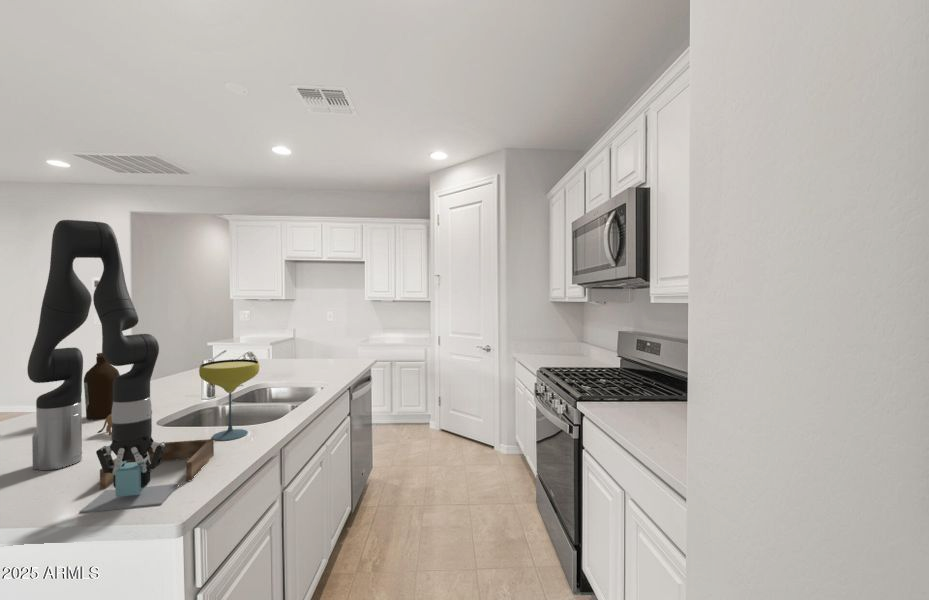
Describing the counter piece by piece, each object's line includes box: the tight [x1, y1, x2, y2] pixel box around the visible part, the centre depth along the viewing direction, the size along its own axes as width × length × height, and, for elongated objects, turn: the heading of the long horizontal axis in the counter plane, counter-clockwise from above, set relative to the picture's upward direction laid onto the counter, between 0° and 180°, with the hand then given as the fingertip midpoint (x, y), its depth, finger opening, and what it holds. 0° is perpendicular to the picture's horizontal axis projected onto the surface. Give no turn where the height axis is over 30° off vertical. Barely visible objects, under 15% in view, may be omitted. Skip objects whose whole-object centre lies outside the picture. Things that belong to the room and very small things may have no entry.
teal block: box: [114, 462, 149, 497], centre depth 99 cm, size 4×5×6 cm
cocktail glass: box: [198, 358, 260, 442], centre depth 142 cm, size 18×18×25 cm
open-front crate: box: [99, 438, 215, 490], centre depth 114 cm, size 20×17×5 cm
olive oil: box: [83, 352, 121, 421], centre depth 160 cm, size 11×11×25 cm
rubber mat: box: [78, 483, 180, 514], centre depth 99 cm, size 16×10×1 cm, turn 105°
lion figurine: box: [96, 414, 112, 436], centre depth 144 cm, size 15×5×9 cm, turn 106°
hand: (132, 486), depth 99 cm, fingers closed on teal block, 4 cm apart
